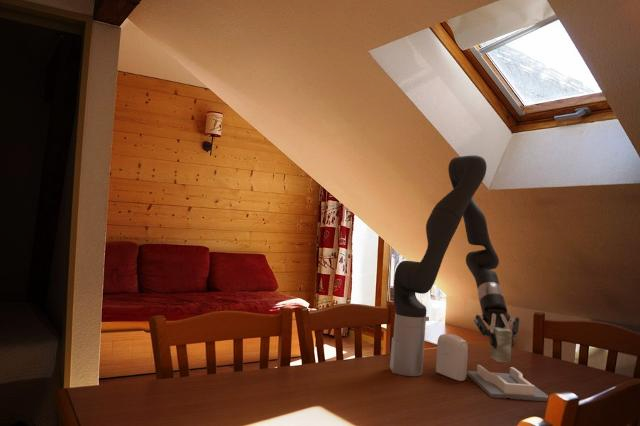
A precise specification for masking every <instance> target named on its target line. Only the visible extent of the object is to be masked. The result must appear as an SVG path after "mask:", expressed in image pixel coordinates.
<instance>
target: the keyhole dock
mask: <svg viewBox="0 0 640 426" xmlns="http://www.w3.org/2000/svg"><path fill="white" fill-rule="evenodd" d="M466 376H468V377H469V378H470V379H471V380H472V381H473V382H474V383H475V384H477V386H479V388H481V389H482V391H484V393H486V395H488V396H489V397H490V398H492V397H493V398H495V399H506V398H510V399H509V400H521V399H522V400H521V401H523V400H524V401H538V402H548V401H547V399H548V396H549V395H548V394H547V393H545V392H544V391H542V390H541V389H540V388H539V387H537V386H535V385H534V384H533V383H531V382H530V381H528V380H527V379H525V377H523V373H522V372H521V371H519V370H518V369H516V368H515V367H514V366H512V367H511V366H510V367H509V373H506V372H505V373H503V372H492V371H489V370H487V369H486V367H483V366H482V365H481V364H477V366H476V371H475V370H467V374H466Z"/></svg>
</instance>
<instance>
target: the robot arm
mask: <svg viewBox="0 0 640 426" xmlns="http://www.w3.org/2000/svg"><path fill="white" fill-rule="evenodd" d="M487 168H488V167H487V162H486V159H485V158H484V157H483V156H481V155H478V154H472V155H471V154H470V155H464V156H463V155H462V156H457V157H456V156H455V157H453V158H452V159H450V161H449V164H448V168H447V169H448V176H449V179H450V183H451V186H452V190H451V191H449V192H448V193H447V194H445V196H444V197H442V198H441V199H440V200H439V201H438V202H437V203H436V205H435V206H434V207H433V209H432V211H431V213H430V214H429V216H428V218H427V221H426V225H425V233H426V239H427V247H426V250H425V253H424V255H423V257H422V259H421V261H413V260H402V261H401V262H398V264H397V266H396V267H395V270H394V276H393V305H394V310H395V311H394V313H395V314H394V325H393V336H392V337H391V344H390V345H391V347H390V348H391V349H390V362H389V369H390V371H391V373H392V374H395V375H401V376H405V377H407V376H408V377H419V376H422V374H423V368H424V367H423V365H424V352H425V337H426V323H427V307H426V305H425V304H423V303H422V302H420V301H419V299H418V298H417V295H416V294H422V295H423V294H426V293H427V294H428V293H429V291H430V290H431V289H432V288H433V286H434V284H435V282H436V279H437V277H438V274H439V271H440V268H441V265H442V262H443V260H444V257H445V255H446V252H447V250H448V248H449V246H450V243H451V242H452V240H453V237H454V235H455V233H456V231H457V229H458V227H459V225H460V223H461V220H462V218H463V221H464V222H463V223H464V227H465V232H466V239H467V242H468V244H469V245H472V246H481V247H483V248H484V249H480V250H472V251H470V252H468V253H467V254H466V255H465V264H466V266H467V268H468V270H469V271H470V273H471V274H472V276H473V278H474V280H475V283H476V289H477V294H478V295H477V296H478V302H479V305H480V308H481V309H480V310H481V314H482V315H479V314H476V315H475V317H474V319H473V322H474V324H475V325H476V327H477V329H478V330H479V332H480V333H481V335H482V336H484V337H485V336H487V337H488V339H489V343H490V346H491V347H492V346H493V348H496V347H497V341H496V336H495V334H494V328H495V327H499V328H507V329H509V330H510V331H512V342H511V350H512V349H513V348H514V345H515V342H514V341H515V340H514V338H516V336H517V334H518V332H519V327H520V317H511V316H510V314H509V313H508V307H507V304H506V301H505V297H504V292H503V290H502V288H501V286H500V281H499V277H498V274H497V272H496V271H494V270H495V269H497V268H498V266H499V264H500V259H499V256H498V254H497V252H496V250H495V248H494V246H493V244H492V241H491V238H490V235H489V229H488V224H487V220H486V219H487V218H486V217H485V215H484V212H483V211H482V209H481V208H480V206H479V205H478V204H477V203H476V200H474V198H473V197H474V195H475V193H476V192H477V191H478V189H479V187H480V186H481V184H482V182H483V180H484V179H485V177H486V173H487ZM484 322H485V323H484ZM509 323H510V324H509ZM486 324H487V325H488V327H487V325H486ZM510 326H512V328H510Z"/></svg>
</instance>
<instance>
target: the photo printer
mask: <svg viewBox="0 0 640 426" xmlns="http://www.w3.org/2000/svg"><path fill="white" fill-rule="evenodd" d="M436 344H437V345H436V359H435V360H436V361H435V372H436V373H437V374H440V375H442V376H444V377H447V378H450V379H451V380H455V381H458V382H463V381H464V382H465V380H466V379H467V371H468V370H467V369H468V354H469V353H468V352H469V351H468V350H469V344H468V342H467V341H466V340H465V339H463V338H462V337H460V336H458V335H456V334H454V333H446V334H440V335H439V336H438V339H437V343H436Z"/></svg>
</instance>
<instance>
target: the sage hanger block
mask: <svg viewBox="0 0 640 426" xmlns="http://www.w3.org/2000/svg"><path fill="white" fill-rule="evenodd" d="M494 334H495V336H496V341H497V347H496V348H493V346H491V349H490V350H491V351H490V352H491V353H490V357H491V358H492V359H493V360H494V361H495V362H501V363H511V357H512V355H511V353H512V349H511V342H512V330H511V331H510V330H509V329H507V328H499V327H495V328H494Z"/></svg>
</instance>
